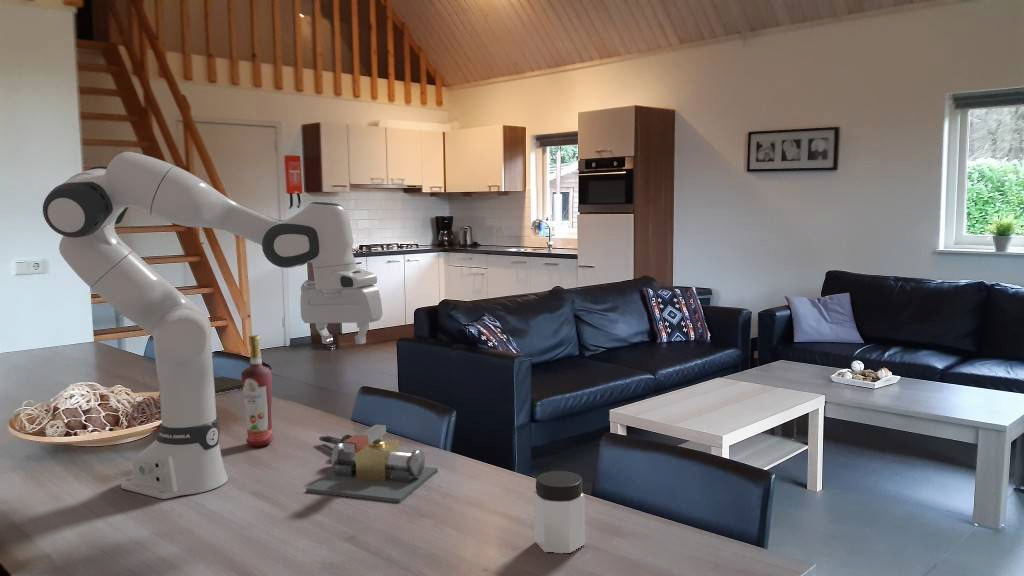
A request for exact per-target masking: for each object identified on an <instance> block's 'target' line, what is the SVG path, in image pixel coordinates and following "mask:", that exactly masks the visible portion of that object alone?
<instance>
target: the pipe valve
mask: <svg viewBox="0 0 1024 576" xmlns="http://www.w3.org/2000/svg"><path fill="white" fill-rule="evenodd" d="M399 442H400V441H399V440H398V439H397V440H395V439H386V438H385V439H384V438H382V441H380V442H371V443H369V446H367V447H366V448H364V449H363V450H361V451H359V452H358V453H351V452H344V446H343V443H337V444H336V445H335V444H334V446H333V448H332V450H331V453H330V454H331V456H330V463H331V466H332V467H333V468H334V470H335V474H336V476H344V477H353V476H354V475H356V479H364V480H374V481H383V482H386V481H387V480H388V479H390V478H391V477H392V481H393V482H401V483H410V482H412V481H413V480H414V479H415V478H417V477H419V476H420V475H421V474H422V472H423V469H424V467H425V463H426V458H425V454H424V451H423V450H422V449H420V450H419V449H414V450H412V452H401V451H400V443H399Z"/></svg>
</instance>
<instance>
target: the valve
mask: <svg viewBox="0 0 1024 576" xmlns="http://www.w3.org/2000/svg"><path fill="white" fill-rule="evenodd" d="M352 436H353V435H351V434H344V435H343V436H342V437H341V438H339V437H333V436H331V435H326V436H325V435H320V436H319V438H318V439H319V440H318V441H320V442H324V443H328V444H332V445H334V446H335V445H336V444H337V443H344V441H345V440H347V439H349V438H351V437H352Z"/></svg>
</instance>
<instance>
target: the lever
mask: <svg viewBox="0 0 1024 576" xmlns="http://www.w3.org/2000/svg"><path fill="white" fill-rule="evenodd" d="M385 434H387V424H386V425H385V424H374V425H372V426H371V427H369V428H367V429H366V430H363V431H362V432H360V433H358V434H354V435H351V436H352V437H351V438H349V439H347V440H345V441H344V443H343V446H344V452H351V453H358V452H359V451H361V450H363V449H364V448H366V447H367V446H369V443H371V442H380V441H382V439H383V436H384V435H385Z"/></svg>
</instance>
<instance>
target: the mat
mask: <svg viewBox="0 0 1024 576" xmlns="http://www.w3.org/2000/svg"><path fill="white" fill-rule="evenodd" d="M438 469H439V468H438V467H432V466H431V467H430V466H424V469H423V472H422V474H421V475H420V476H419V477H417V478H415V479H414V480H413V481H412V482H410V483H401V482H393V481H392V477H391V478H390V479H388V480H387V481H386V482H383V481H374V480H364V479H356V475H354V476H353V477H344V476H336V474H335V469H334V470H333V471H332V472H330V473H327V475H325V476H324V477H322V478H320V479H319V480H317V481H315V482H314V483H312V484H311V485H309V486H308V487H306V488H305V489H306V493H311V492H312V494H320V493H322V494H321V495H329V494H333V495H332V496H337V495H340V496H339V497H346V496H348V498H355V497H356V498H358V499H363V498H365V499H364V500H372V501H381V500H382V502H383V501H384V502H390V503H391V502H392V503H402V502H403V501H405V499H406V498H408V497H409V496H411V494H413V493H414V492H415V491H416V490H417V489H419V487H421V486H422V485H423V484H424V483H426V482H427V481H428V480H429V479H430V478H431V477H433V476H434V475H435V474H437V472H439V471H438ZM401 501H402V502H401Z"/></svg>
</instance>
